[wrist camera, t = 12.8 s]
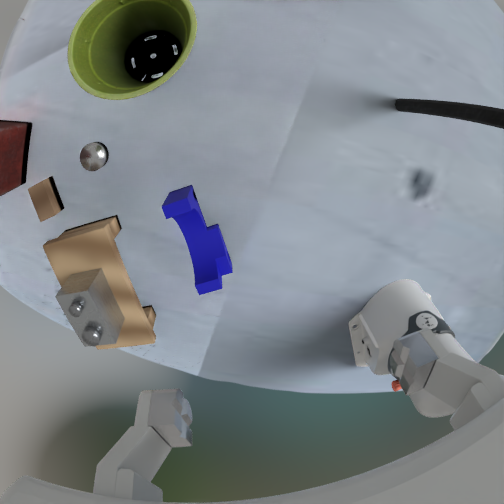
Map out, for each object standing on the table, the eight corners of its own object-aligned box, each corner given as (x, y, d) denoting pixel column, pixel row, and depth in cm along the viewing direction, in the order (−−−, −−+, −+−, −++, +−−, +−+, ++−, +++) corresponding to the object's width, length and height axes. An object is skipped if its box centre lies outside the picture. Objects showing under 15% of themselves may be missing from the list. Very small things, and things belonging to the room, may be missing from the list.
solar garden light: (346, 108, 32) (574, 154, 6) (389, 47, 28) (588, 34, 2) (406, 163, 36) (584, 260, 10) (442, 104, 32) (616, 152, 6)
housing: (101, 267, 32) (84, 295, 27) (124, 318, 36) (114, 349, 30) (70, 274, 32) (51, 301, 27) (95, 322, 36) (82, 351, 30)
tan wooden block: (65, 207, 34) (55, 215, 31) (50, 214, 34) (40, 222, 31) (53, 175, 32) (42, 180, 29) (38, 183, 32) (27, 189, 29)
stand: (160, 316, 43) (154, 343, 38) (107, 324, 43) (97, 349, 38) (119, 210, 35) (104, 227, 30) (62, 227, 35) (42, 245, 30)
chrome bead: (112, 164, 32) (107, 166, 31) (88, 172, 32) (84, 174, 31) (105, 137, 31) (100, 139, 29) (82, 146, 31) (77, 148, 29)
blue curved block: (231, 261, 41) (233, 285, 35) (201, 270, 41) (199, 295, 35) (203, 180, 35) (200, 193, 30) (169, 192, 35) (161, 206, 30)
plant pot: (92, 62, 26) (47, 48, 16) (165, 0, 23) (146, -39, 13) (145, 123, 31) (114, 127, 21) (223, 60, 28) (226, 36, 18)
